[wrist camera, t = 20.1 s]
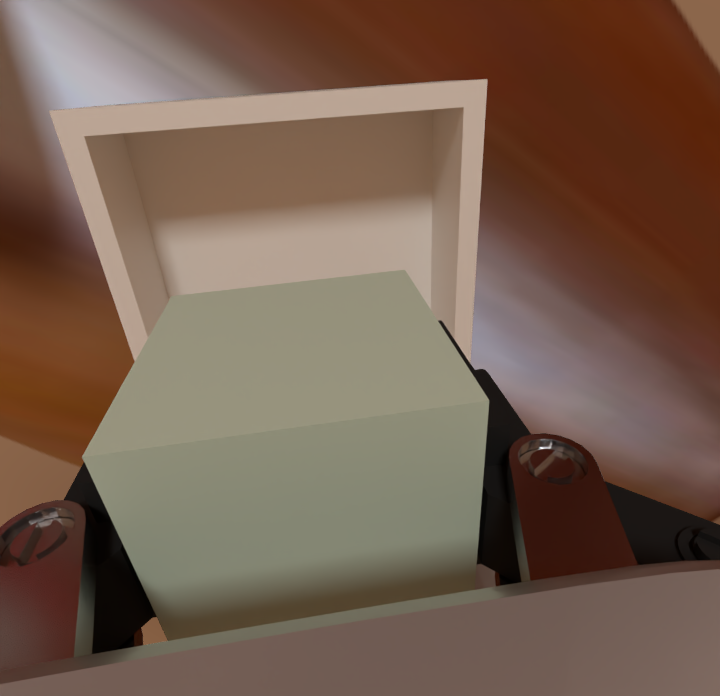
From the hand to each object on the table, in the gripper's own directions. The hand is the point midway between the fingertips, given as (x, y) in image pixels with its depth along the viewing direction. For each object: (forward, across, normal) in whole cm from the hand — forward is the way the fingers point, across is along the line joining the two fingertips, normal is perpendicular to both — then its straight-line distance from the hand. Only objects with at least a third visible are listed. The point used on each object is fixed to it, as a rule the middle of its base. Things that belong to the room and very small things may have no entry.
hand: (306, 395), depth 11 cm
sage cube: (+1, 0, 0) cm, 1 cm away
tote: (+19, 0, +5) cm, 20 cm away
